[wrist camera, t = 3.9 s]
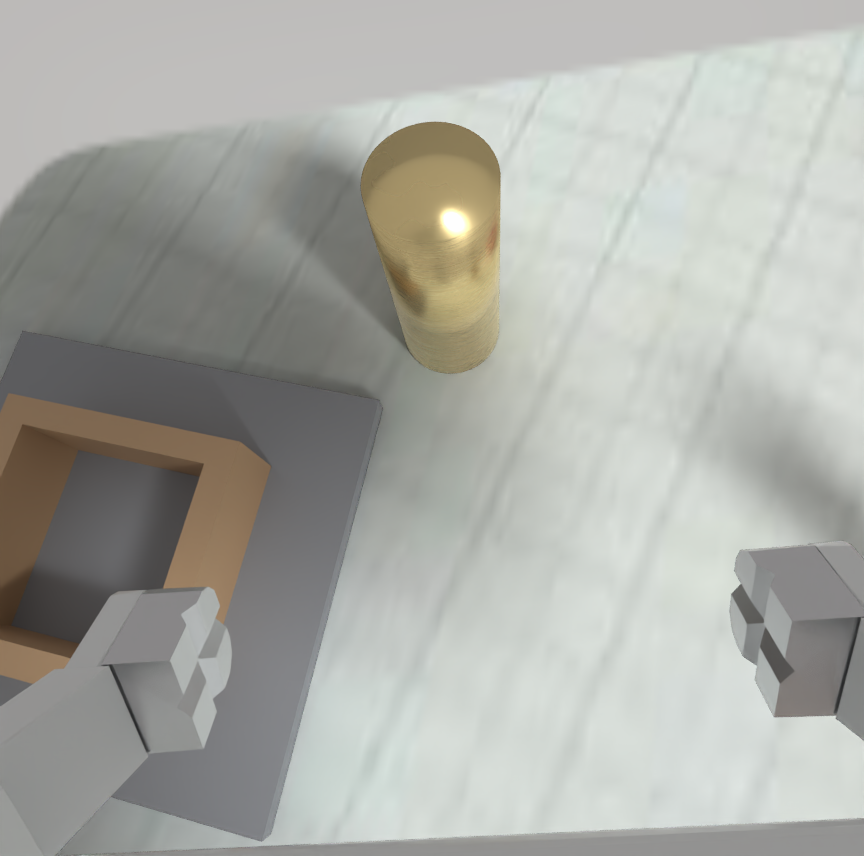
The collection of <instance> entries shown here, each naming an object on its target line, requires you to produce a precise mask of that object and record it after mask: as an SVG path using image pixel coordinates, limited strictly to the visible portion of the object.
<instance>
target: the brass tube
mask: <svg viewBox="0 0 864 856" xmlns="http://www.w3.org/2000/svg"><path fill="white" fill-rule="evenodd" d="M361 195H362V199H363V203H364V206H365V209H366V212H367V216H368V219H369V222H370V226H371V229H372V232H373V235H374V239H375V242H376V245H377V249H378V252H379V255H380V258H381V262H382V265H383V268H384V272H385V275H386V278H387V282H388V285H389V288H390V291H391V295H392V298H393V301H394V305H395V308H396V311H397V314H398V318H399V321H400V324H401V328H402V331H403V334H404V337H405V341H406V344H407V346H408V349H409V351H410V352H411V354H412V355H413V357H414V358H415V359H416V360H417V361H418V362H419V363H421V364H422V365H423V366H425V367H427V368H429V369H431V370H433V371H436V372H440V373H460V372H464V371H467V370H470V369H472V368H474V367H476V366H478V365H479V364H480V363H482V362H483V361H484V360H485V359H486V358H487V357H488V356H489V355H490V354H491V352H492V351H493V349H494V347H495V345H496V342H497V339H498V334H499V269H500V168H499V164H498V161H497V158H496V156H495V154H494V152H493V151H492V149H491V148H490V146H489V145H488V144H487V143H486V142H485V141H484V140H483V139H482V138H481V137H480V136H478V135H477V134H476V133H474V132H472V131H471V130H469V129H466V128H464V127H462V126H459V125H455V124H451V123H446V122H425V123H419V124H415V125H411V126H408V127H405V128H403V129H401V130H399V131H397V132H395V133H393V134H392V135H390V136H389V137H387V138H386V139H385V140H383V141H382V142H381V143H380V144H379V145H378V146H377V147H376V148H375V149H374V151H373V152H372V153H371V155H370V156H369V158H368V160H367V162H366V164H365V166H364V169H363V173H362V177H361Z"/></svg>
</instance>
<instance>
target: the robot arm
mask: <svg viewBox="0 0 864 856" xmlns="http://www.w3.org/2000/svg"><path fill="white" fill-rule="evenodd" d="M734 572H735V574H736V575H737V577H738V579H739V581H740V582H741V584H740V585H739V586H738V588H737V589H736V590H735V591H734V592H733V593H732V594H731V601H730V619H731V627H732V632H733V635H734V638H735V641H736V644H737V646H738V648H739V650H740V652H741V654H742V656H743V657H744V658H746V659H747V660H749V661H750V662H752V663H753V664H755V665H756V666H757V668H756V675H755V682H756V684H757V686H758V687H759V689H760V691H761V693H762V695H763V697H764V699H765V701H766V703H767V705H768V707H769V709H770V711H771V713H772V715H773V716H774V717H803V716H836V719H837V720H838V721H840V722H841V723H842V724H843V725H845V726H846V727H847V728H848V729H850V730H851V731H852V732H854V733H855V734H856V735H857V736H859V737H860V738H861V739H862V740H864V559H863V558H862V556H861V555H860V554H859V553H858V552H857V551H856V549H855V548H854V547H853V546H852V545H851V544H849V543H847V542H845V541H834V542H823V543H812V544H808V545H798V546H785V547H772V548H758V549H745V550H740V551H739V553H738V555H737V557H736V562H735V569H734ZM219 608H220V604H219V601H218V599H217V596H216V593H215V590H213V589H212V588H210V587H188V588H166V589H148V590H134V591H118V592H116V593H115V594H113V595H111V596H110V597H109V598H108V600H107V602H106V603H105V605H104V606H103V608H102V609H101V611H100V613H99V614H98V616H97V617H96V619H95V621H94V622H93V624H92V625H91V627H90V628H89V630H88V632H87V633H86V635H85V636H84V638H83V639H82V641H81V643H80V644H79V646H78V647H77V649H76V651H75V652H74V654H73V655H72V657H71V658H70V660H69V662H68V663H67V665H66V666H65V668H64V669H54V670H53V671H51V672H50V673H48V674H47V675H45V676H44V677H42V678H41V679H40V680H38V681H37V682H35V683H34V684H32V685H31V686H29V687H28V688H27V689H25V690H24V691H22V692H21V693H19V694H18V695H16V696H15V697H13V698H12V699H11V700H9V701H8V702H6V703H5V704H3V705H2V706H0V856H55V855H56V854H57V853H58V852H59V851H60V850H61V849H62V848H63V847H64V846H65V845H66V844H67V843H68V841H69V840H70V839H71V838H72V837H73V836H74V835H75V834H76V833H77V832H78V831H79V830H80V829H81V828H82V827H83V826H84V825H85V823H86V822H87V821H88V820H89V819H90V818H91V817H92V816H93V815H94V814H95V813H96V812H97V811H98V810H99V809H100V808H101V806H102V805H103V804H104V803H105V802H106V801H107V800H108V799H109V798H110V797H111V796H112V795H113V794H114V793H115V792H116V791H117V790H118V788H119V787H120V786H121V785H122V784H123V783H124V782H125V781H126V780H127V779H128V778H129V777H130V776H131V775H132V774H133V773H134V771H135V770H136V769H137V768H138V767H139V766H140V765H141V764H142V763H143V762H144V761H145V760H146V759H147V758H148V754H150V753H162V752H174V751H185V750H197V749H204V746H205V744H206V741H207V738H208V735H209V732H210V730H211V727H212V724H213V721H214V718H215V716H216V713H217V710H216V707H215V705H214V702H213V698H214V697H215V696H216V695H218V694H219V693H220V692H221V691H222V690H223V689H224V688H225V687H226V684H227V681H228V678H229V674H230V669H231V659H232V649H231V640H230V636H229V633H228V629H227V627H226V626H225V625H223V624H222V623H221V622H219V621H218V620H217V619H216V615H217V613H218V610H219ZM67 856H864V818H857V819H835V820H814V821H792V822H771V823H749V824H728V825H707V826H685V827H664V828H643V829H621V830H600V831H579V832H557V833H536V834H515V835H493V836H472V837H451V838H429V839H408V840H386V841H365V842H344V843H322V844H301V845H280V846H259V847H237V848H216V849H195V850H173V851H152V852H131V853H110V854H88V855H67Z"/></svg>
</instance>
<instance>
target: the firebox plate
mask: <svg viewBox="0 0 864 856" xmlns="http://www.w3.org/2000/svg"><path fill="white" fill-rule="evenodd" d="M382 410H383V407H382V405H381V403H380V401H379V400H376V399H371V398H366V397H361V396H356V395H350V394H345V393H340V392H335V391H330V390H325V389H320V388H314V387H309V386H304V385H299V384H294V383H289V382H284V381H278V380H273V379H268V378H263V377H258V376H253V375H247V374H242V373H237V372H232V371H227V370H222V369H217V368H211V367H206V366H201V365H196V364H191V363H186V362H181V361H175V360H170V359H165V358H160V357H155V356H150V355H145V354H139V353H134V352H129V351H124V350H119V349H114V348H109V347H103V346H98V345H93V344H88V343H83V342H78V341H72V340H67V339H62V338H57V337H52V336H47V335H42V334H36V333H31V332H26V331H22V334H21V336H20V338H19V341H18V343H17V345H16V348H15V350H14V352H13V355H12V357H11V359H10V362H9V364H8V366H7V369H6V371H5V373H4V376H3V378H2V380H1V383H0V706H2V705H3V704H5V703H6V702H8V701H9V700H11V699H12V698H13V697H15V696H16V695H18V694H19V693H21V692H22V691H24V690H25V689H27V688H28V687H29V686H31V685H32V684H34V683H35V682H37V681H38V680H40V679H41V678H42V677H44V676H45V675H47V674H48V673H50V672H51V671H53V670H54V669H64V668H65V666H66V665H67V663H68V662H69V660H70V658H71V657H72V655H73V654H74V652H75V651H76V649H77V647H78V646H79V644H80V643H81V641H82V639H83V638H84V636H85V635H86V633H87V632H88V630H89V628H90V627H91V625H92V624H93V622H94V621H95V619H96V617H97V616H98V614H99V613H100V611H101V609H102V608H103V606H104V605H105V603H106V602H107V600H108V598H109V597H110V596H111V595H113V594H115V593H116V592H118V591H134V590H148V589H166V588H188V587H210V588H212V589H213V590H215V593H216V596H217V599H218V601H219V604H220V608H219V610H218V613H217V615H216V619H217V620H218V621H219V622H221V623H222V624H223V625H225V626H226V627H227V629H228V633H229V636H230V640H231V649H232V659H231V669H230V674H229V678H228V681H227V684H226V687H225V688H224V689H223V690H222V691H221V692H220V693H219V694H218V695H216V696H215V697H214V698H213V702H214V705H215V707H216V710H217V713H216V716H215V718H214V721H213V724H212V727H211V730H210V732H209V735H208V738H207V741H206V744H205V746H204V749H197V750H185V751H174V752H162V753H150V754H148V758H147V759H146V760H145V761H144V762H143V763H142V764H141V765H140V766H139V767H138V768H137V769H136V770H135V771H134V773H133V774H132V775H131V776H130V777H129V778H128V779H127V780H126V781H125V782H124V783H123V784H122V785H121V786H120V787H119V788H118V790H117V791H116V792H115V793H114V794H113V795H112V796H111V797H113V798H117V799H120V800H123V801H127V802H130V803H133V804H137V805H140V806H143V807H147V808H150V809H154V810H157V811H160V812H164V813H167V814H170V815H174V816H177V817H180V818H184V819H187V820H191V821H194V822H197V823H201V824H204V825H207V826H211V827H214V828H217V829H221V830H224V831H228V832H231V833H234V834H238V835H241V836H244V837H248V838H251V839H254V840H258V841H261V842H262V841H263V840H264V839H265V838H267V837H268V836H269V835H270V834H271V832H272V828H273V824H274V820H275V816H276V813H277V809H278V805H279V801H280V797H281V794H282V790H283V786H284V782H285V778H286V775H287V771H288V767H289V763H290V759H291V756H292V752H293V748H294V744H295V740H296V737H297V733H298V729H299V725H300V721H301V717H302V714H303V710H304V706H305V702H306V698H307V695H308V691H309V687H310V683H311V679H312V676H313V672H314V668H315V664H316V660H317V657H318V653H319V649H320V645H321V641H322V638H323V634H324V630H325V626H326V622H327V619H328V615H329V611H330V607H331V603H332V600H333V596H334V592H335V588H336V584H337V581H338V577H339V573H340V569H341V565H342V562H343V558H344V554H345V550H346V546H347V543H348V539H349V535H350V531H351V527H352V524H353V520H354V516H355V512H356V508H357V505H358V501H359V497H360V493H361V489H362V486H363V482H364V478H365V474H366V470H367V467H368V463H369V459H370V455H371V451H372V448H373V444H374V440H375V436H376V432H377V429H378V425H379V421H380V417H381V413H382Z"/></svg>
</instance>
